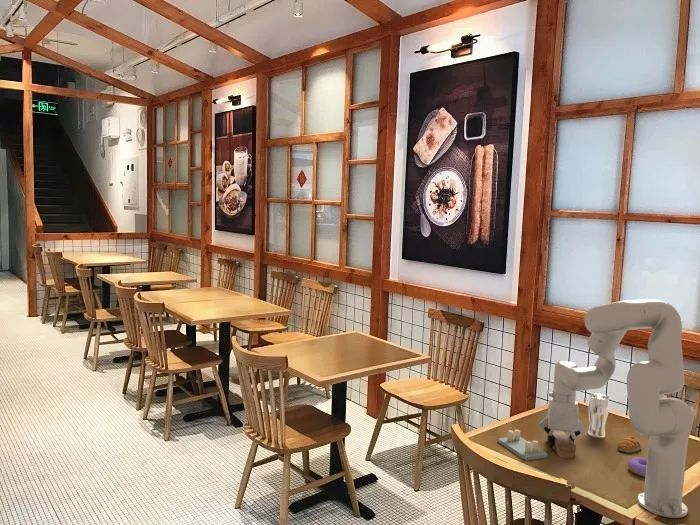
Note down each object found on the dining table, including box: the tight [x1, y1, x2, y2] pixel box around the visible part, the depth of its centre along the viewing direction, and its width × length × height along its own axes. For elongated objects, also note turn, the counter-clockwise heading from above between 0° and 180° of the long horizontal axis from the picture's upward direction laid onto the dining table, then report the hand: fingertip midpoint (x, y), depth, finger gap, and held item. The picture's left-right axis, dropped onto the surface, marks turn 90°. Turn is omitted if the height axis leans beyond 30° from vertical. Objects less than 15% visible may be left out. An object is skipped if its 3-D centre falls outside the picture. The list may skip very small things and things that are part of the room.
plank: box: [546, 430, 577, 459], centre depth 201 cm, size 14×5×4 cm, turn 179°
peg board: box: [497, 429, 549, 461], centre depth 199 cm, size 16×9×5 cm, turn 20°
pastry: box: [617, 435, 643, 454], centre depth 202 cm, size 9×7×4 cm
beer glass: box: [587, 392, 610, 439], centre depth 214 cm, size 7×7×15 cm
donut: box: [627, 456, 647, 478], centre depth 185 cm, size 10×9×5 cm
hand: (560, 446), depth 201 cm, fingers closed on plank, 5 cm apart
